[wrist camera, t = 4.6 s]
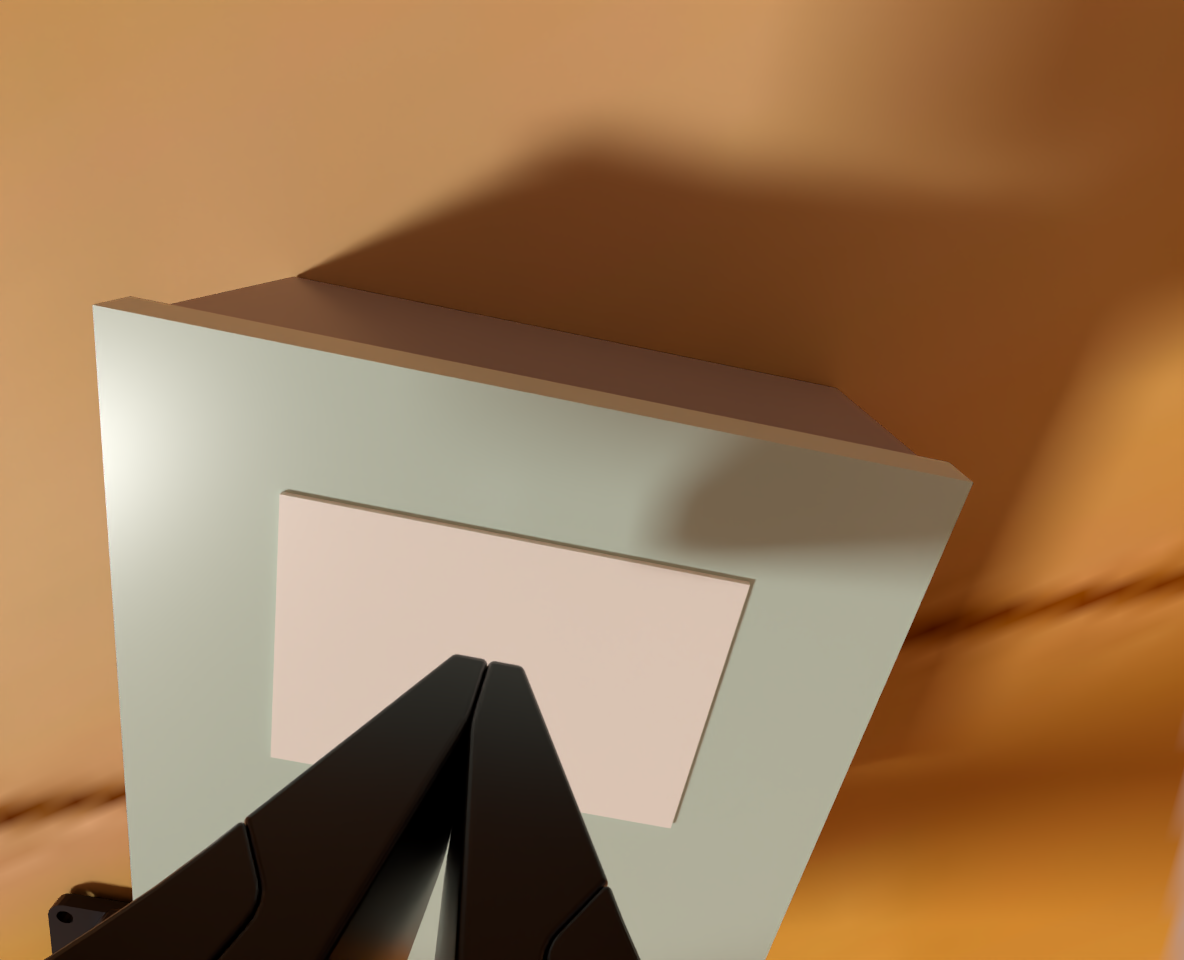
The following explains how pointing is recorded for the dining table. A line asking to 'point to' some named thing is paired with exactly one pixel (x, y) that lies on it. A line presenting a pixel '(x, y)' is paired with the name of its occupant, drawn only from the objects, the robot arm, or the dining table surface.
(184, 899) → the robot arm
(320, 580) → the lid
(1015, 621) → the dining table surface
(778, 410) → the storage box
